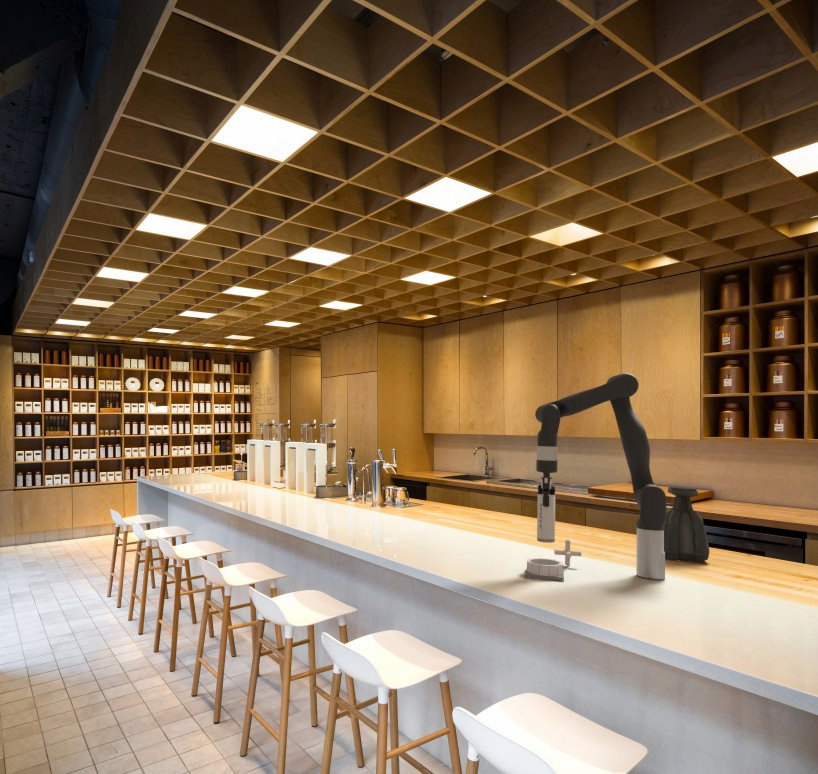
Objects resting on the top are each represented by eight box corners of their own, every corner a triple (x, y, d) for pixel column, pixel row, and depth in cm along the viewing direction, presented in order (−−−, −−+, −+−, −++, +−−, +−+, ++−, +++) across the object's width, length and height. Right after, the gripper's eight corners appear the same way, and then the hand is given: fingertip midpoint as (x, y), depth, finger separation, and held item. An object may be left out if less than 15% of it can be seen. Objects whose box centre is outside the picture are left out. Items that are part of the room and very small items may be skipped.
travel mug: (551, 539, 211) (552, 484, 213) (557, 543, 204) (557, 485, 206) (534, 539, 211) (535, 483, 213) (539, 542, 204) (540, 485, 206)
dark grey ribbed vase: (664, 560, 242) (663, 488, 244) (656, 553, 258) (656, 485, 260) (710, 564, 238) (710, 490, 240) (700, 556, 253) (700, 487, 256)
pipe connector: (582, 570, 217) (582, 543, 218) (554, 568, 219) (555, 541, 220) (579, 564, 227) (580, 538, 227) (553, 562, 229) (553, 537, 229)
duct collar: (563, 573, 211) (563, 560, 212) (563, 581, 198) (563, 567, 199) (527, 569, 215) (527, 556, 215) (524, 577, 202) (524, 563, 202)
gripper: (557, 460, 202) (556, 508, 201) (557, 458, 216) (557, 504, 215) (535, 459, 204) (534, 507, 203) (537, 458, 218) (536, 502, 217)
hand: (546, 505), depth 209 cm, fingers closed on travel mug, 6 cm apart
